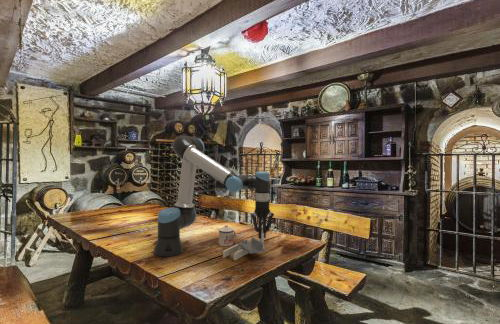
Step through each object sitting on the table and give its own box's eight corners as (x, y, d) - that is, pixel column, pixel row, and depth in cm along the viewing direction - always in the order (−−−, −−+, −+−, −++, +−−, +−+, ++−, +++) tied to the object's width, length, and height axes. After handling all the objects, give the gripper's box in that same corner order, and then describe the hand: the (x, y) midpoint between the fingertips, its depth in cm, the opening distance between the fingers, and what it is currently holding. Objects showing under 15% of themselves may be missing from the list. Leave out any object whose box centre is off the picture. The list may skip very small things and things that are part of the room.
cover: (249, 253, 140) (250, 245, 140) (236, 243, 156) (237, 236, 156) (264, 251, 144) (265, 244, 143) (250, 242, 160) (250, 235, 160)
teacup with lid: (224, 247, 161) (225, 227, 161) (215, 244, 167) (215, 225, 167) (239, 243, 170) (240, 224, 169) (230, 240, 176) (230, 222, 176)
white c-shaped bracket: (223, 257, 145) (223, 250, 145) (240, 248, 160) (240, 242, 160) (235, 260, 141) (235, 253, 141) (251, 251, 156) (251, 244, 156)
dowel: (231, 260, 143) (235, 257, 142) (228, 255, 144) (232, 252, 143) (240, 255, 151) (244, 252, 150) (237, 250, 152) (241, 247, 151)
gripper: (252, 202, 143) (252, 247, 143) (276, 201, 146) (275, 245, 146) (248, 199, 150) (248, 243, 150) (271, 199, 153) (270, 241, 154)
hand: (262, 244), depth 148 cm, fingers closed
